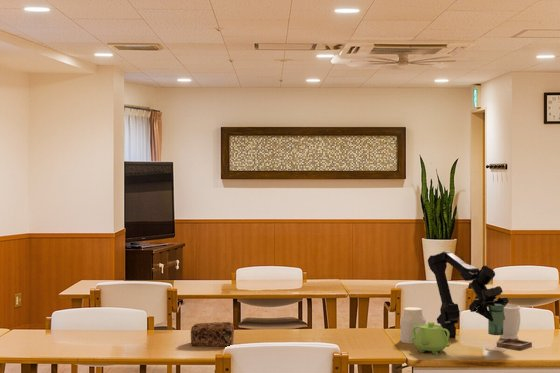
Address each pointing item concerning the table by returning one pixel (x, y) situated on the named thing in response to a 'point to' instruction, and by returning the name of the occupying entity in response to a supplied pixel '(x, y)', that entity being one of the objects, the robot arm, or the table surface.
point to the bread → (212, 334)
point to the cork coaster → (495, 349)
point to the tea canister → (496, 319)
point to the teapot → (431, 338)
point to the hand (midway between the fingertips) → (498, 320)
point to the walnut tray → (514, 344)
